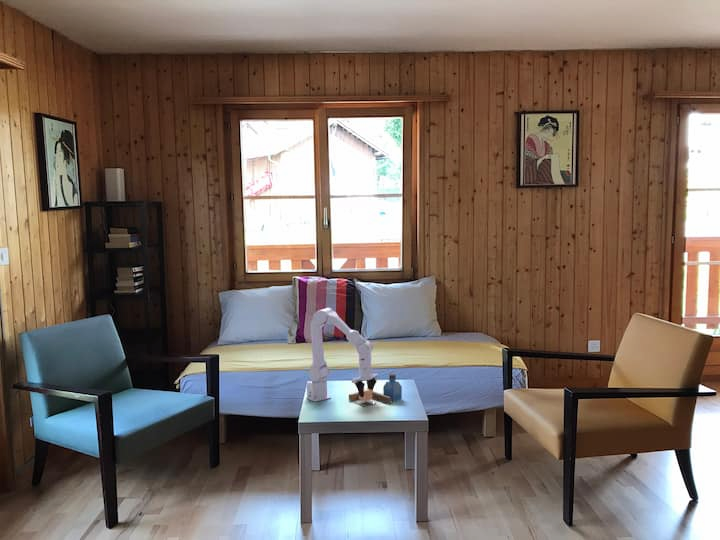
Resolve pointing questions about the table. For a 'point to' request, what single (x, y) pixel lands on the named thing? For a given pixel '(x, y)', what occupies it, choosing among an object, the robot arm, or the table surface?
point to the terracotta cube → (366, 395)
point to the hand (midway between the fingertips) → (365, 395)
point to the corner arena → (369, 402)
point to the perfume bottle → (393, 388)
